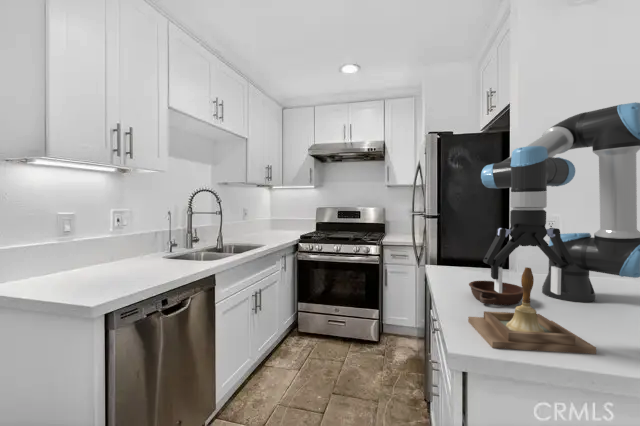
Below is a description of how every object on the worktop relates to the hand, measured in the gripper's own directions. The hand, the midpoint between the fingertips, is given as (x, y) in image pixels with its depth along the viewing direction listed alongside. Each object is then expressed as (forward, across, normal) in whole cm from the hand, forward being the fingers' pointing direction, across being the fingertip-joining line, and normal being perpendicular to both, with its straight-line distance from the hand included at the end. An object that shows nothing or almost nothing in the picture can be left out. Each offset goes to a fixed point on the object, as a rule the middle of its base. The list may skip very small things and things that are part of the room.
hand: (526, 292), depth 79 cm
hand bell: (+10, 0, 0) cm, 10 cm away
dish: (+12, -6, -31) cm, 33 cm away
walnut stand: (+11, 0, 0) cm, 11 cm away
